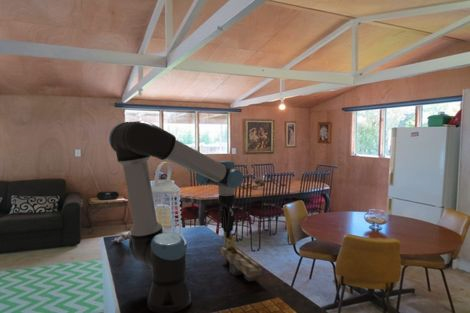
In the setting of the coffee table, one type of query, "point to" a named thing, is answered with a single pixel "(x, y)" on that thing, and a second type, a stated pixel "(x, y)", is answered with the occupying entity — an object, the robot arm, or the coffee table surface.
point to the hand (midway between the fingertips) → (227, 244)
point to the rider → (231, 243)
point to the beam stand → (241, 264)
